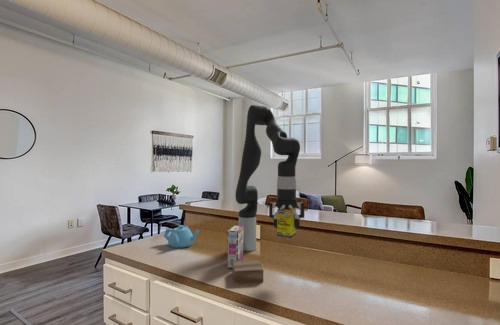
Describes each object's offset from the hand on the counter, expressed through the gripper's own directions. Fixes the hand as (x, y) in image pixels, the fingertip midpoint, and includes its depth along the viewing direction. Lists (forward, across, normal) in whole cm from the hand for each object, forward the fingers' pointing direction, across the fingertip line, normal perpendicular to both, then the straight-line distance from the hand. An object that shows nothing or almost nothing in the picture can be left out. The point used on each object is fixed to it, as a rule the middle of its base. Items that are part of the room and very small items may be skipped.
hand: (286, 228), depth 117 cm
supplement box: (+3, 0, 0) cm, 3 cm away
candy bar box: (+20, +21, -13) cm, 32 cm away
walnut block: (+20, +16, +1) cm, 25 cm away
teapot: (+20, +54, -42) cm, 72 cm away
